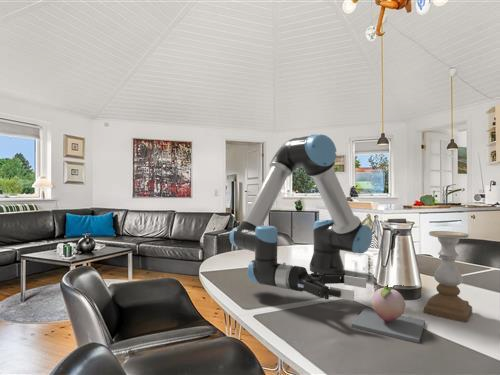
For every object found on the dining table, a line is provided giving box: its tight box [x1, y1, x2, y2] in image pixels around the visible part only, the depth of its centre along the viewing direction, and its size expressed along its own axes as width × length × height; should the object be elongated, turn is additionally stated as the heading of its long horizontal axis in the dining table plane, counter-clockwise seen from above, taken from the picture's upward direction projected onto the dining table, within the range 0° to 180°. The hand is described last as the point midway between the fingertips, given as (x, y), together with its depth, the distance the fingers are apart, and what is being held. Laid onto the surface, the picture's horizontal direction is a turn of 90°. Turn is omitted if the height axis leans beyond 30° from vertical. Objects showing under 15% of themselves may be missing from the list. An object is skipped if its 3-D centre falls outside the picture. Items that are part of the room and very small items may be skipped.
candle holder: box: [423, 230, 473, 324], centre depth 97 cm, size 11×11×24 cm
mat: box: [351, 308, 426, 344], centre depth 88 cm, size 16×14×1 cm
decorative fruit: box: [371, 285, 406, 322], centre depth 88 cm, size 9×8×10 cm
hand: (360, 289), depth 92 cm, fingers open, 13 cm apart
